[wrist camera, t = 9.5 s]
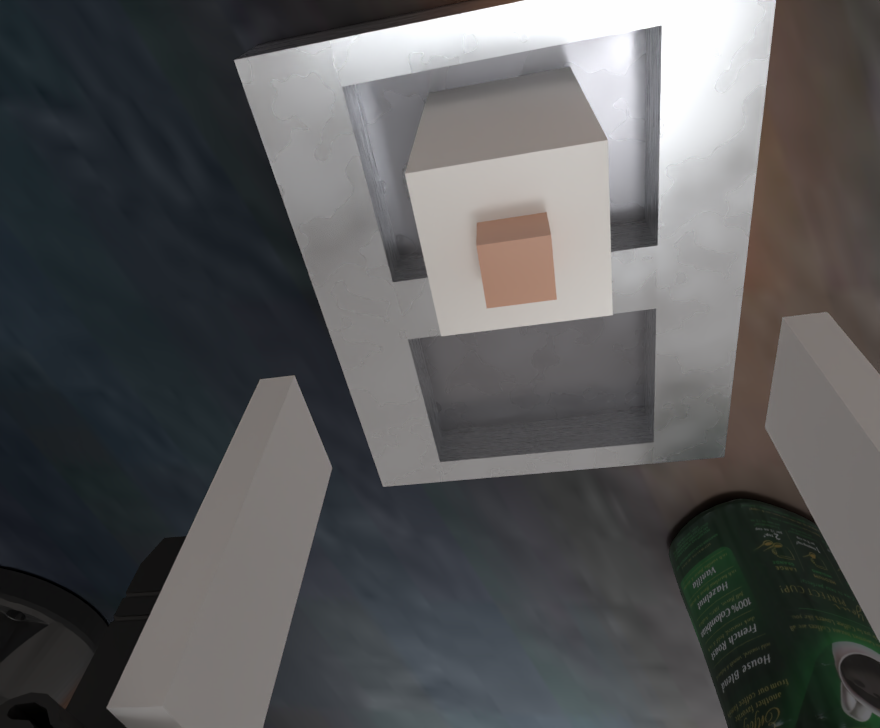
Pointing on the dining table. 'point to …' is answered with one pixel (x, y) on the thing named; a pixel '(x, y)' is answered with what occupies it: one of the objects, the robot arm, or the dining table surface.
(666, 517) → the dining table surface
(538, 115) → the white rectangular block
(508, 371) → the socket plate
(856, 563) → the robot arm
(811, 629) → the coffee jar
